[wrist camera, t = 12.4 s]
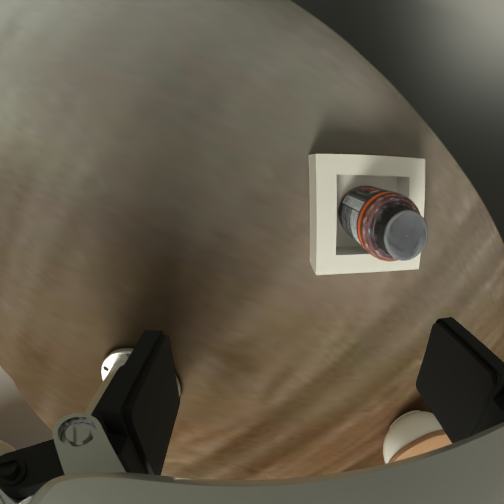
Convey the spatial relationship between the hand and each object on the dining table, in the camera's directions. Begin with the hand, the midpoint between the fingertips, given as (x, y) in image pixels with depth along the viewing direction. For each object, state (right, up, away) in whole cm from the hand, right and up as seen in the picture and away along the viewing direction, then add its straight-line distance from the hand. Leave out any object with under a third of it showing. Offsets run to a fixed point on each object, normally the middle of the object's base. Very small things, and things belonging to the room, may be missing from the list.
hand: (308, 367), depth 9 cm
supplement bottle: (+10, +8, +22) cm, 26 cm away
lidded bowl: (+26, -27, +34) cm, 50 cm away
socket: (+10, +9, +23) cm, 27 cm away
